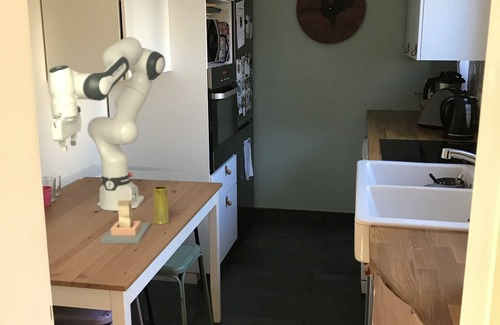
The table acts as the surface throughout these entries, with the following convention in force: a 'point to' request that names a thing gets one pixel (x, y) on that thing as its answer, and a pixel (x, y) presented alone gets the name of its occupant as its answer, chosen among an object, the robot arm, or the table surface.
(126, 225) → the oak post
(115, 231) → the socket board
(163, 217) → the vase
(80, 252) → the table surface
